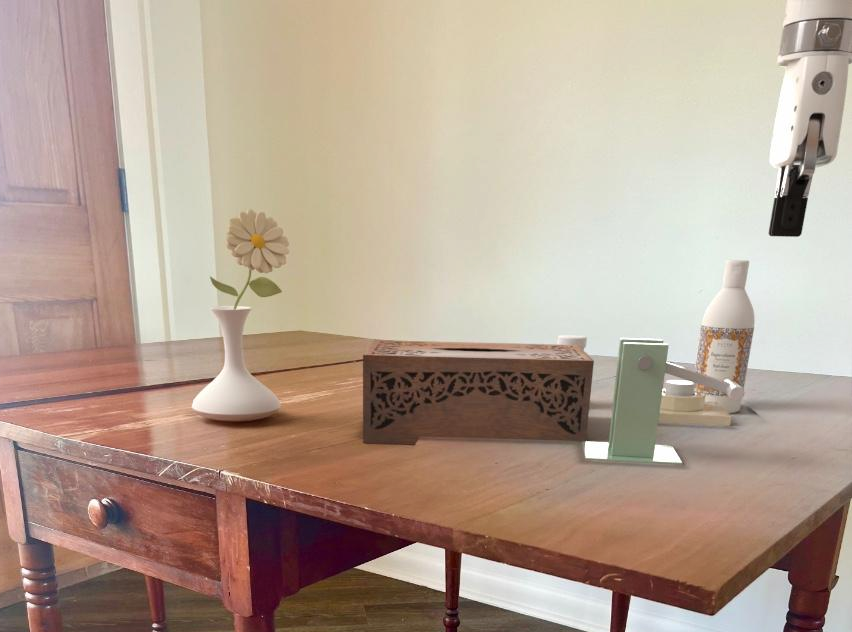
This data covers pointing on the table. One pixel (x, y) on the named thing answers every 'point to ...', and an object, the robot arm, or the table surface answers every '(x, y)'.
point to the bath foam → (726, 335)
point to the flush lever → (707, 381)
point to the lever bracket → (636, 407)
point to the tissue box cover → (475, 391)
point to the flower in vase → (235, 386)
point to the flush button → (679, 387)
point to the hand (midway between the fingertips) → (784, 236)
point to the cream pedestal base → (692, 410)
